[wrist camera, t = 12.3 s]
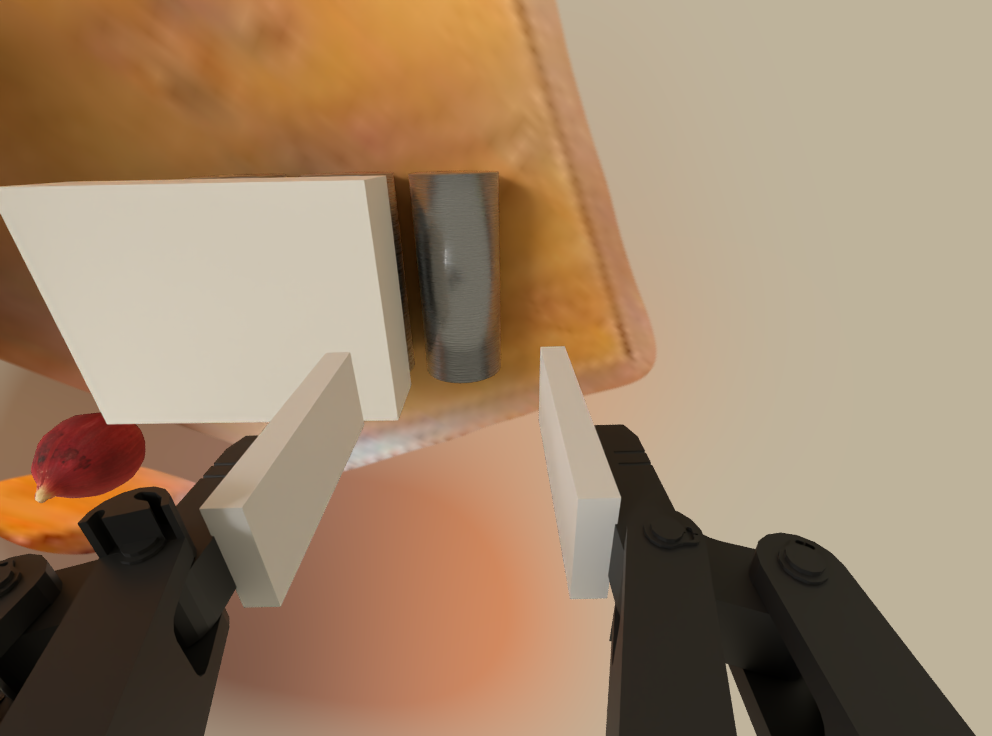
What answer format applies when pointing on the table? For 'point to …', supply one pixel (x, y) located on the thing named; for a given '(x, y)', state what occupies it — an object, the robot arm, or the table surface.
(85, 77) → the table surface
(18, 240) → the slab
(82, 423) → the onion
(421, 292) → the roller
